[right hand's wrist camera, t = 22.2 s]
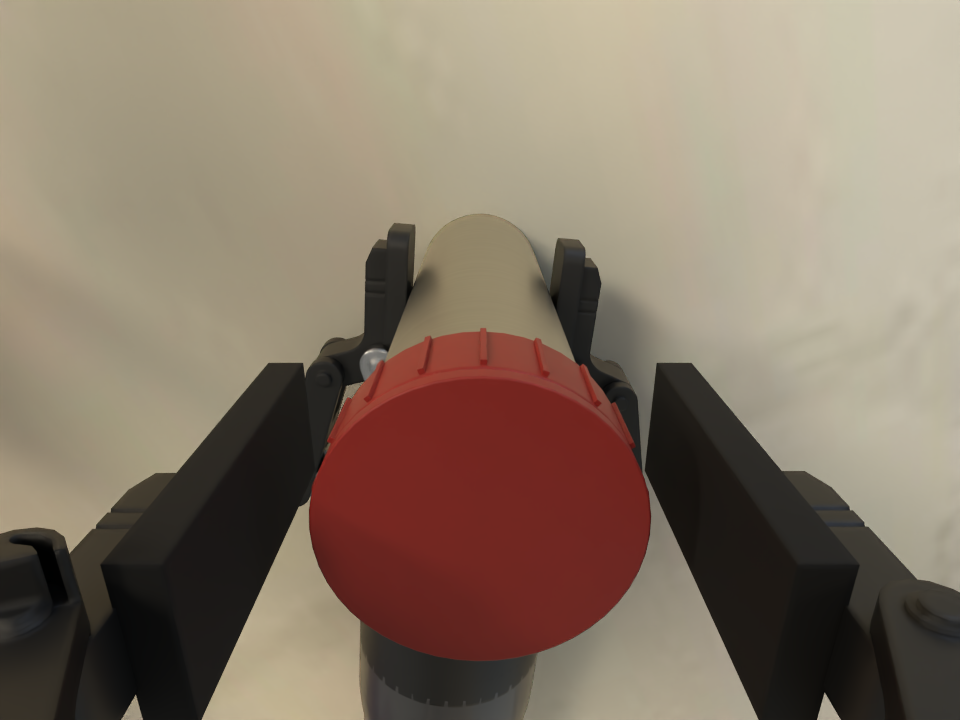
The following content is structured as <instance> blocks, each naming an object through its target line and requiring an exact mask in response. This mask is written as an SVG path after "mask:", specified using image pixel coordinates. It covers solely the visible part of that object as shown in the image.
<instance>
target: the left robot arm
mask: <svg viewBox="0 0 960 720" xmlns="http://www.w3.org/2000/svg"><path fill="white" fill-rule="evenodd" d="M414 251H415V225H411V224H400V223H394V224H393V225H392V227H391V228H390V229H389V231H388V237H387V240H381V239H379V240H378V241H377V242H376V244H375V245H374V246H373V248H372V250H371V252H370V254H369V257H368V259H367V261H366V275H365V279H366V282H365V326H364V333H363V334H362V335H360V336H357V337H354V338H350V339H343V338H332V339H330V340H328V341H327V342H326V343H325V345H324V346H323V348H322V349H321V352H320V355H319V356H318V358H317V359H316V360H315V361H314V362H313V363H312V364H311V366H310V367H309V369H308V370H307V373H306V377H305V384H306V393H307V402H308V411H309V420H310V428H311V437H312V446H313V455H314V464H315V472H314V474H313V476H312V479H311V481H310V483H309V485H308V487H307V490H306V492H305V494H304V496H303V498H302V501H301V503H300V505H299V506H302V505H304V504H305V503H306V502H307V501H308V500H309V497H310V496H311V494H312V490H311V489H312V484H313V482H314V480H315V478H316V475H317V473H318V471H319V469H320V466H321V464H322V462H323V460H324V458H325V455H326V453H327V451H328V449H329V446H330V444H331V443H329V442H327V440H328V438H329V436H330V433H331V431H332V429H333V427H334V425H335V423H336V420H337V418H338V414H339V411H340V407H341V404H342V400H343V397H344V393H345V390H346V386H347V385H351V384H355V383H359V382H363V381H366V379H367V378H368V377H369V376H370V375H371V374H372V373H373V372H374V371H375V369H376V366H377V364H378V362H380V361H381V360H383V361H384V362H385V360H386V357H387V354H388V352H389V349H390V346H391V344H392V341H393V338H394V336H395V333H396V331H397V328H398V325H399V323H400V320H401V317H402V315H403V312H404V309H405V307H406V304H407V301H408V299H409V296H410V294H411V291H412V288H413V272H414ZM585 256H586V253H585V247H584V246H583V245H582V244H581V242H580V241H579V240H574V239H563V238H558V240H557V243H556V248H555V256H554V263H553V271H552V278H551V285H550V293H549V294H550V297H551V299H552V302H553V305H554V307H555V310H556V312H557V315H558V318H559V320H560V323H561V326H562V328H563V331H564V334H565V336H566V339H567V341H568V344H569V347H570V349H571V352H572V355H573V357H574V360H575V362H576V363H577V364H578V365H579V366H581V365H582V364H584V365H585V366H586V367H587V369H588V371H589V374H590V376H591V377H592V378H593V379H594V381H595V382H596V383H597V384H598V385H599V387H600V388H601V389H602V390H603V392H604V393H605V395H606V397H607V398H608V400H609V401H610V403H611V404H612V403H614V402H615V403H616V405H617V407H618V409H619V411H620V413H621V415H622V418H623V420H624V422H625V424H626V426H627V428H628V431H629V433H630V435H631V437H632V439H633V441H634V443H635V446H636V447H635V448H633V449H632V452H633V454H634V456H635V458H636V460H637V463H638V465H639V467H640V470H641V472H642V459H641V444H640V429H639V414H638V400H637V396H636V394H635V392H634V391H633V389H632V387H631V385H630V383H629V381H628V380H627V378H626V376H625V374H624V372H623V370H622V369H621V367H620V366H619V365H618V364H617V363H616V362H613V361H603V360H600V359H598V358H596V357H594V356H592V355H591V354H590V349H591V343H592V337H593V331H594V325H595V319H596V311H597V307H598V299H599V295H600V288H601V280H600V276H599V272H598V268H597V266H596V265H595V264H594V262H593V261H592V260H591V258H585ZM536 658H537V653H535V654H530V655H526V656H522V657H518V658H511V659H503V660H492V661H469V660H455V659H449V658H443V657H437V656H433V655H430V654H426V653H422V652H419V651H416V650H413V649H410V648H408V647H405V646H403V645H400V644H398V643H396V642H394V641H392V640H390V639H388V638H386V637H384V636H382V635H381V634H379V633H378V632H376V631H375V630H373V629H372V628H370V627H369V626H367V625H366V624H364V623H363V622H362V621H361V626H360V674H359V677H360V692H361V699H362V706H363V711H364V720H523V717H524V715H525V712H526V709H527V706H528V702H529V698H530V693H531V689H532V683H533V677H534V670H535V664H536Z"/></svg>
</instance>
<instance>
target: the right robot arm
mask: <svg viewBox="0 0 960 720" xmlns="http://www.w3.org/2000/svg"><path fill="white" fill-rule="evenodd" d="M314 472H315V464H314V455H313V446H312V437H311V428H310V420H309V411H308V402H307V393H306V384H305V375H304V366H303V363H268V364H267V366H266V367H265V368H264V369H263V370H262V371H261V373H260V374H259V375H258V376H257V377H256V379H255V380H254V381H253V382H252V383H251V385H250V386H249V387H248V388H247V389H246V391H245V392H244V393H243V394H242V395H241V397H240V398H239V399H238V400H237V401H236V403H235V404H234V405H233V406H232V407H231V409H230V410H229V411H228V412H227V413H226V415H225V416H224V417H223V418H222V419H221V421H220V422H219V423H218V424H217V425H216V427H215V428H214V429H213V430H212V431H211V433H210V434H209V435H208V436H207V437H206V438H205V440H204V441H203V442H202V443H201V444H200V446H199V447H198V448H197V449H196V450H195V452H194V453H193V454H192V455H191V456H190V458H189V459H188V460H187V461H186V462H185V464H184V465H183V466H182V467H181V468H180V470H179V471H178V472H177V473H155V474H154V475H152V476H150V477H149V478H147V479H146V480H144V481H142V482H141V483H139V484H137V485H136V486H134V487H132V488H131V489H129V490H128V491H127V492H126V493H125V494H124V495H123V497H122V498H121V499H120V500H119V501H118V502H117V503H116V504H115V505H114V506H113V507H112V508H111V513H107V514H106V515H105V516H104V517H103V518H102V519H101V520H100V521H99V522H98V524H97V525H96V529H92V530H91V531H90V532H89V533H88V534H87V535H86V537H85V538H84V539H83V540H82V541H81V542H80V543H79V544H78V545H77V546H76V547H75V548H74V550H73V551H72V552H71V553H70V554H69V551H68V548H67V545H66V541H65V538H64V536H62V535H61V534H59V533H58V532H57V531H55V530H51V529H44V528H28V529H19V530H13V531H9V532H6V533H2V534H0V720H121V719H122V717H123V715H124V714H125V712H126V710H127V709H128V707H129V705H130V704H131V702H132V700H133V698H134V697H135V695H136V696H137V699H138V703H139V707H140V710H141V714H142V718H143V720H201V719H202V717H203V715H204V713H205V711H206V708H207V706H208V704H209V702H210V700H211V697H212V695H213V693H214V691H215V689H216V686H217V684H218V682H219V680H220V678H221V676H222V673H223V671H224V669H225V667H226V665H227V662H228V660H229V658H230V656H231V654H232V651H233V649H234V647H235V645H236V643H237V641H238V638H239V636H240V634H241V632H242V630H243V627H244V625H245V623H246V621H247V619H248V616H249V614H250V612H251V610H252V608H253V606H254V603H255V601H256V599H257V597H258V595H259V592H260V590H261V588H262V586H263V584H264V581H265V579H266V577H267V575H268V573H269V571H270V568H271V566H272V564H273V562H274V560H275V557H276V555H277V553H278V551H279V549H280V546H281V544H282V542H283V540H284V538H285V536H286V533H287V531H288V529H289V527H290V525H291V522H292V520H293V518H294V516H295V514H296V511H297V509H298V507H299V505H300V503H301V501H302V498H303V496H304V494H305V492H306V490H307V487H308V485H309V483H310V481H311V479H312V476H313V474H314ZM645 472H646V474H647V476H648V479H649V481H650V483H651V485H652V487H653V490H654V492H655V494H656V496H657V498H658V501H659V503H660V505H661V507H662V509H663V511H664V514H665V516H666V518H667V520H668V522H669V525H670V527H671V529H672V531H673V533H674V536H675V538H676V540H677V542H678V544H679V546H680V549H681V551H682V553H683V555H684V557H685V560H686V562H687V564H688V566H689V568H690V571H691V573H692V575H693V577H694V579H695V581H696V584H697V586H698V588H699V590H700V592H701V595H702V597H703V599H704V601H705V603H706V606H707V608H708V610H709V612H710V614H711V616H712V619H713V621H714V623H715V625H716V627H717V630H718V632H719V634H720V636H721V638H722V641H723V643H724V645H725V647H726V649H727V651H728V654H729V656H730V658H731V660H732V662H733V665H734V667H735V669H736V671H737V673H738V676H739V678H740V680H741V682H742V684H743V686H744V689H745V691H746V693H747V695H748V697H749V700H750V702H751V704H752V706H753V708H754V711H755V713H756V715H757V717H758V719H759V720H817V718H818V714H819V710H820V707H821V703H822V699H823V696H824V692H825V693H826V695H827V697H828V699H829V700H830V702H831V704H832V705H833V707H834V709H835V710H836V712H837V714H838V715H839V717H840V719H841V720H960V593H959V592H958V591H956V590H954V589H951V588H948V587H945V586H942V585H939V584H936V583H933V582H930V581H923V580H917V579H916V578H915V577H914V575H913V574H912V573H911V572H910V571H909V570H908V569H907V568H906V567H905V566H904V565H903V564H902V563H901V561H900V560H899V559H898V558H897V557H896V556H895V555H894V554H893V553H892V552H891V551H890V550H889V549H888V548H887V546H886V545H885V544H884V543H883V542H882V541H881V540H880V539H879V538H878V537H877V536H876V535H875V534H874V533H873V531H872V530H871V529H870V528H869V527H865V526H864V522H863V521H862V520H861V519H860V517H859V516H858V515H857V514H856V513H855V512H854V511H850V509H849V506H848V505H847V504H846V502H845V501H844V500H843V499H842V498H841V497H840V496H839V495H838V494H837V493H836V492H835V491H834V490H833V488H832V487H830V486H828V485H827V484H825V483H823V482H822V481H820V480H818V479H817V478H815V477H813V476H812V475H810V474H808V473H807V472H805V471H781V470H780V468H779V467H778V466H777V465H776V464H775V462H774V461H773V460H772V459H771V458H770V456H769V455H768V454H767V453H766V452H765V450H764V449H763V448H762V447H761V446H760V444H759V443H758V442H757V441H756V440H755V438H754V437H753V436H752V435H751V434H750V433H749V431H748V430H747V429H746V428H745V427H744V425H743V424H742V423H741V422H740V421H739V419H738V418H737V417H736V416H735V415H734V413H733V412H732V411H731V410H730V409H729V407H728V406H727V405H726V404H725V403H724V401H723V400H722V399H721V398H720V397H719V395H718V394H717V393H716V392H715V391H714V389H713V388H712V387H711V386H710V385H709V383H708V382H707V381H706V380H705V379H704V377H703V376H702V375H701V374H700V373H699V371H698V370H697V369H696V368H695V367H694V366H693V364H692V363H657V366H656V375H655V384H654V393H653V402H652V411H651V420H650V428H649V437H648V446H647V455H646V464H645Z"/></svg>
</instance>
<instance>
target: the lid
mask: <svg viewBox="0 0 960 720" xmlns="http://www.w3.org/2000/svg"><path fill="white" fill-rule="evenodd" d="M327 442H329V443H331V444H330V446H329V449H328V451H327V453H326V455H325V458H324V460H323V462H322V464H321V466H320V469H319V471H318V473H317V475H316V478H315V480H314V482H313V484H312V489H311V490H312V494H311V501H310V508H309V530H310V535H311V541H312V547H313V550H314V553H315V556H316V559H317V562H318V565H319V567H320V569H321V571H322V573H323V575H324V577H325V579H326V581H327V583H328V584H329V586H330V587H331V589H332V590H333V592H334V593H335V594H336V596H337V597H338V599H339V600H340V601H341V602H342V603H343V604H344V605H345V606H346V607H347V608H348V609H349V611H350V612H351V613H353V614H354V615H355V616H356V617H357V618H358V619H360V620H361V621H362V622H363V623H364V624H366V625H367V626H369V627H370V628H372V629H373V630H375V631H376V632H378V633H379V634H381V635H382V636H384V637H386V638H388V639H390V640H392V641H394V642H396V643H398V644H400V645H403V646H405V647H408V648H410V649H413V650H416V651H419V652H422V653H426V654H430V655H433V656H437V657H443V658H449V659H455V660H469V661H492V660H503V659H511V658H518V657H522V656H526V655H530V654H535V653H538V652H541V651H544V650H547V649H550V648H552V647H555V646H557V645H559V644H562V643H564V642H566V641H568V640H570V639H572V638H574V637H576V636H577V635H579V634H581V633H582V632H584V631H585V630H587V629H589V628H590V627H591V626H593V625H594V624H595V623H596V622H598V621H599V620H600V619H602V618H603V617H604V616H605V615H606V614H607V613H608V612H609V611H610V610H611V609H612V608H613V607H614V606H615V605H616V604H617V603H618V602H619V601H620V599H621V598H622V597H623V595H624V594H625V593H626V592H627V590H628V589H629V588H630V586H631V584H632V582H633V581H634V579H635V577H636V575H637V574H638V572H639V569H640V567H641V564H642V562H643V559H644V557H645V554H646V550H647V545H648V541H649V536H650V524H651V511H650V500H649V491H648V489H647V487H646V483H645V479H644V477H643V474H642V472H641V470H640V467H639V465H638V463H637V460H636V458H635V456H634V454H633V452H632V449H633V448H635V447H636V446H635V443H634V441H633V439H632V437H631V435H630V433H629V431H628V428H627V426H626V424H625V422H624V420H623V418H622V415H621V413H620V411H619V409H618V407H617V405H616V403H615V402H614V403H612V404H611V403H610V401H609V400H608V398H607V397H606V395H605V393H604V392H603V390H602V389H601V388H600V387H599V385H598V384H597V383H596V382H595V381H594V379H593V378H592V377H591V376H590V374H589V371H588V369H587V367H586V366H585V365H584V364H582V365H581V366H579V365H578V364H577V363H575V362H574V361H572V360H571V359H569V358H568V357H566V356H565V355H563V354H562V353H560V352H558V351H556V350H554V349H552V348H550V347H548V346H546V345H544V344H542V341H541V339H539V338H535V340H534V341H533V340H530V339H527V338H524V337H520V336H515V335H511V334H506V333H497V332H486V328H480V332H461V333H455V334H449V335H443V336H440V337H436V338H433V339H432V338H431V336H427V337H425V339H424V341H423V342H421V343H419V344H416V345H414V346H412V347H410V348H407V349H405V350H403V351H402V352H400V353H399V354H397V355H395V356H394V357H392V358H390V359H389V360H387V361H386V362H385V363H384V361H383V360H381V361H380V362H378V364H377V366H376V369H375V371H374V372H373V373H372V374H371V375H370V376H369V377H368V378H367V379H366V381H365V382H364V383H363V384H362V385H361V386H360V388H359V389H358V391H357V392H356V393H355V395H354V396H353V398H352V399H351V398H349V397H348V398H347V399H346V401H345V403H344V405H343V407H342V410H341V412H340V414H339V416H338V418H337V420H336V423H335V425H334V427H333V429H332V431H331V433H330V436H329V438H328V440H327Z"/></svg>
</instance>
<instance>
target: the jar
mask: <svg viewBox="0 0 960 720" xmlns="http://www.w3.org/2000/svg"><path fill="white" fill-rule="evenodd" d="M480 328H486V332H497V333H506V334H511V335H515V336H520V337H524V338H527V339H530V340H533V341H534V340H535V338H539V339H541V341H542V344H544V345H546V346H548V347H550V348H552V349H554V350H556V351H558V352H560V353H562V354H563V355H565V356H566V357H568V358H569V359H571V360H572V361H574V362H575V360H574V357H573V355H572V352H571V349H570V347H569V344H568V341H567V339H566V336H565V334H564V331H563V328H562V326H561V323H560V320H559V318H558V315H557V312H556V310H555V307H554V305H553V302H552V299H551V297H550V294H549V291H548V289H547V286H546V283H545V281H544V278H543V276H542V273H541V270H540V268H539V265H538V262H537V260H536V257H535V254H534V252H533V249H532V247H531V245H530V243H529V241H528V240H527V238H526V237H525V236H524V234H523V233H522V232H521V231H520V230H519V229H518V228H517V227H516V226H514V225H513V224H511V223H510V222H508V221H506V220H504V219H502V218H499V217H497V216H492V215H487V214H473V215H467V216H464V217H460V218H458V219H456V220H454V221H452V222H450V223H449V224H447V225H445V226H444V227H443V228H442V229H441V230H440V231H439V232H438V233H437V234H436V235H435V237H434V238H433V239H432V241H431V243H430V245H429V247H428V249H427V251H426V254H425V257H424V259H423V262H422V265H421V267H420V270H419V272H418V275H417V278H416V280H415V283H414V286H413V288H412V291H411V294H410V296H409V299H408V301H407V304H406V307H405V309H404V312H403V315H402V317H401V320H400V323H399V325H398V328H397V331H396V333H395V336H394V338H393V341H392V344H391V346H390V349H389V352H388V354H387V357H386V360H385V362H386V361H387V360H389V359H390V358H392V357H394V356H395V355H397V354H399V353H400V352H402V351H403V350H405V349H407V348H410V347H412V346H414V345H416V344H419V343H421V342H423V341H424V339H425V337H427V336H431V338H432V339H433V338H436V337H440V336H443V335H449V334H455V333H461V332H480ZM385 362H384V363H385ZM575 363H576V362H575Z"/></svg>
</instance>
